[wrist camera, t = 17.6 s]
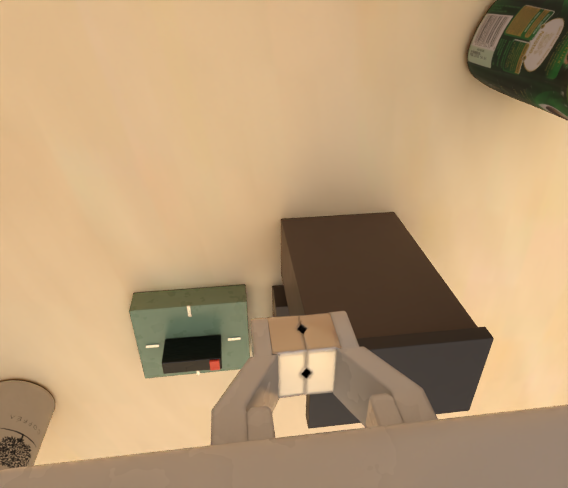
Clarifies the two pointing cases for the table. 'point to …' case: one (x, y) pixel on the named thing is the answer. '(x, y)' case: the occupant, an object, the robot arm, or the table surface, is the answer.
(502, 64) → the coffee jar
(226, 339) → the panel
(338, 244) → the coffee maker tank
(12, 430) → the travel mug
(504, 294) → the table surface
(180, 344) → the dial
